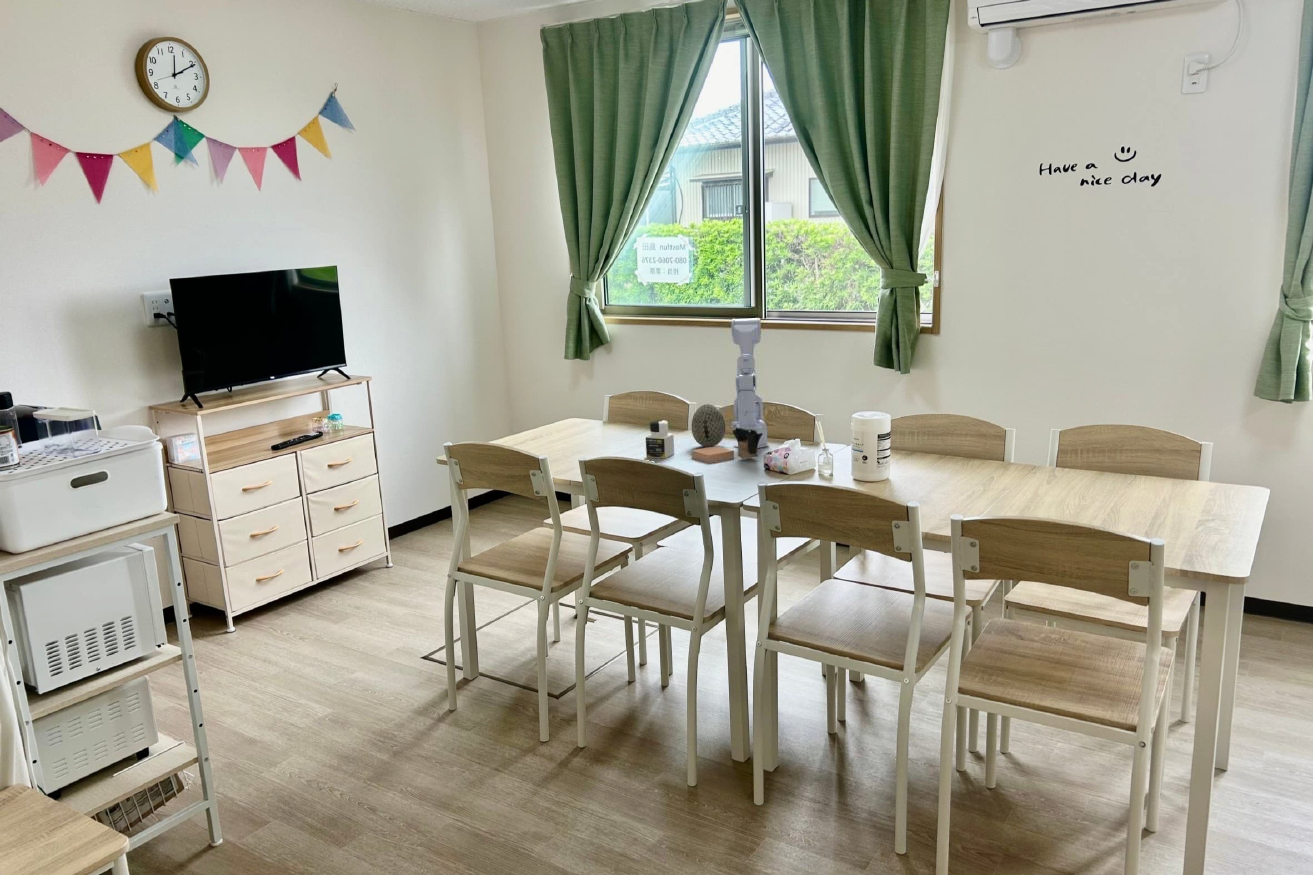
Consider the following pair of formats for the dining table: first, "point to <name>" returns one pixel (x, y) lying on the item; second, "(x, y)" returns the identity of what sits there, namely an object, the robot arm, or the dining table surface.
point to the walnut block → (745, 450)
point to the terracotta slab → (712, 454)
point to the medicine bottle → (659, 440)
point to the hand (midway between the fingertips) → (747, 452)
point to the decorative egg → (708, 426)
